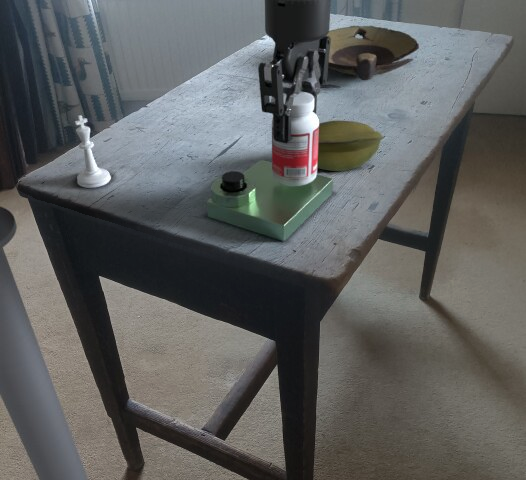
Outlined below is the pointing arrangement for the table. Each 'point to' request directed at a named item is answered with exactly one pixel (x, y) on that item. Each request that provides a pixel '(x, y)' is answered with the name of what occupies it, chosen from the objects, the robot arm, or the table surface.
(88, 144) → the chess piece
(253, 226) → the scale
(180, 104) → the table surface
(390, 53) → the broken bowl
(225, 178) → the button
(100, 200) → the table surface
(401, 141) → the table surface
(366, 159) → the fruit
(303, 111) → the pill bottle
